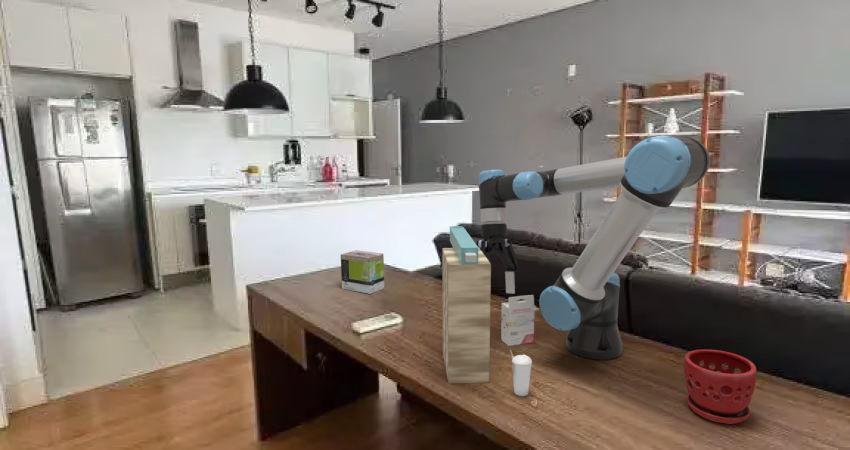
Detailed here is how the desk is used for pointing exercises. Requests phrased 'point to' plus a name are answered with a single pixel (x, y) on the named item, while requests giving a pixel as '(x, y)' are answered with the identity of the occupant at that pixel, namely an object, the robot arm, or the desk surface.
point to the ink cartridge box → (518, 320)
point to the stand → (466, 318)
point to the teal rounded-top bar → (463, 245)
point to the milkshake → (521, 374)
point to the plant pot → (719, 385)
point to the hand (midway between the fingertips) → (496, 295)
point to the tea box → (362, 271)
